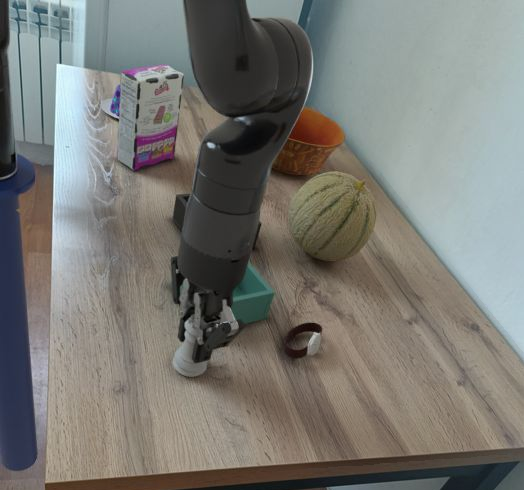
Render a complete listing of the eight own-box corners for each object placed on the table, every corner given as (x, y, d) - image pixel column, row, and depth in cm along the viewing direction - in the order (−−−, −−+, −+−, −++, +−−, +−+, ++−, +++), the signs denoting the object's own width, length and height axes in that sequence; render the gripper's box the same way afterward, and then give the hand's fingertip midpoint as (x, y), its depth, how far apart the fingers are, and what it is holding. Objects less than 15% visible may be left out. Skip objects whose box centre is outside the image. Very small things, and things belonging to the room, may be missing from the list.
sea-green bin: (204, 334, 74) (210, 306, 71) (170, 286, 80) (175, 258, 76) (266, 318, 80) (275, 292, 77) (231, 275, 85) (237, 248, 82)
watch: (301, 369, 74) (309, 350, 72) (273, 351, 75) (280, 332, 73) (326, 342, 80) (334, 324, 77) (299, 325, 81) (306, 307, 78)
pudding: (138, 99, 124) (140, 76, 121) (166, 123, 119) (169, 99, 115) (90, 102, 117) (90, 76, 114) (117, 127, 112) (119, 102, 108)
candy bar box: (156, 148, 110) (166, 63, 98) (174, 159, 108) (186, 74, 97) (114, 159, 102) (119, 69, 91) (133, 171, 101) (140, 81, 89)
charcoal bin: (200, 257, 87) (206, 230, 83) (172, 220, 92) (175, 194, 89) (254, 248, 92) (262, 223, 89) (224, 214, 98) (230, 189, 94)
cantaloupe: (269, 227, 99) (291, 149, 88) (338, 230, 104) (367, 157, 94) (296, 278, 89) (324, 198, 79) (371, 278, 95) (407, 203, 85)
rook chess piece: (195, 350, 72) (206, 305, 66) (212, 373, 70) (224, 328, 64) (165, 358, 69) (173, 312, 64) (182, 383, 67) (192, 337, 62)
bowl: (290, 138, 130) (302, 96, 123) (349, 183, 120) (365, 141, 113) (220, 144, 118) (229, 98, 111) (278, 195, 108) (292, 148, 101)
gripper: (156, 200, 57) (141, 319, 69) (220, 281, 50) (192, 398, 62) (217, 194, 61) (193, 307, 73) (284, 269, 54) (246, 381, 66)
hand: (193, 349), depth 67 cm, fingers closed on rook chess piece, 3 cm apart
